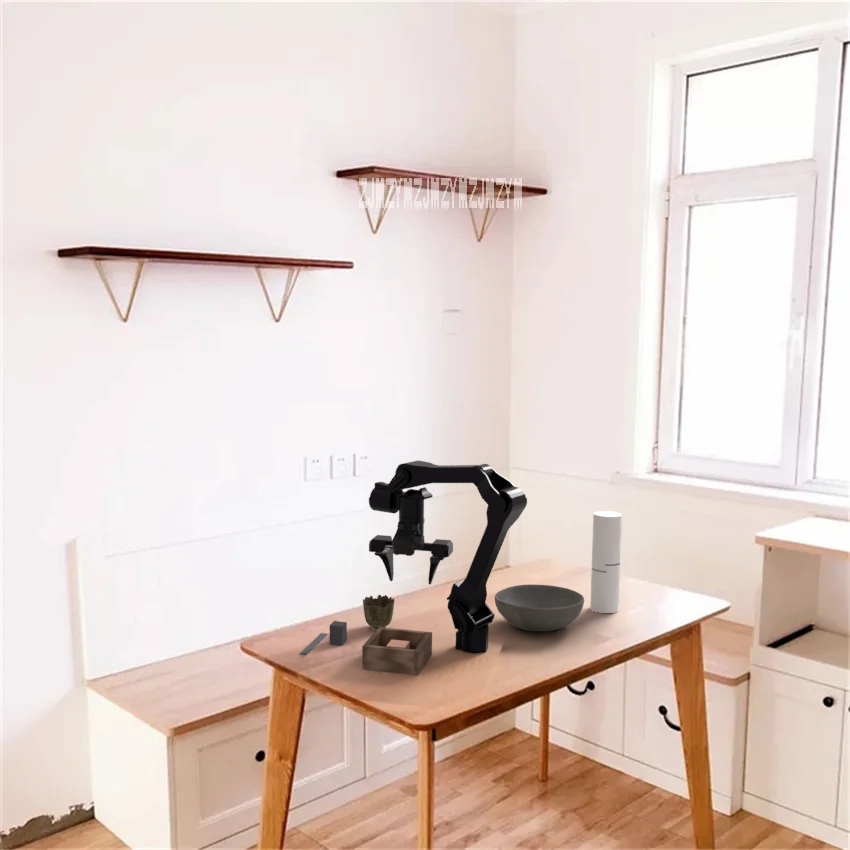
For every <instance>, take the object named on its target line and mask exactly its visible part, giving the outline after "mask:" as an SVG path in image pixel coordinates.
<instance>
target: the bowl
mask: <svg viewBox="0 0 850 850" xmlns="http://www.w3.org/2000/svg"><path fill="white" fill-rule="evenodd" d="M494 603H495V606H496V609H497V611H498V613H499V614H500V615H501V616H502V617H503V619H504V620H505V621H507V622H508V623H509V624H510V625H512V626H514V627H516V628H518V629H521V630H525V631H529V632H531V631H532V632H550V631H556V630H560V629H562V628H564V627H565V628H566V627H567V626H569V625H571V624H572V623H573V622H574V621H575V620H576V619H577V618H578V617H579V615H580V614H581V612H582V610H583V607H584V603H585V598H584V596H583V595H582V593H579V592H577V591H575V590H574V589H569V588H566V587H562V586H555V585H547V584H519V585H513V586H510V587H507V588H503V589H501V590H499V591H497V593H496V594H495V595H494Z"/></svg>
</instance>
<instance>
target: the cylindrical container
mask: <svg viewBox="0 0 850 850" xmlns="http://www.w3.org/2000/svg"><path fill="white" fill-rule="evenodd" d="M592 514H593V516H592V519H593V521H592V543H591V544H592V545H591V546H592V549H591V550H592V551H591V572H590V573H591V574H590V576H591V577H590V578H591V579H590V605H589V609H590V610H591V611H592V610H593V611H592V612H594V611H595V612H594V613H597V612H599V613H598V614H601V613H613V614H617V613H618V612H619V611H618V610H619V605H620V584H621V583H620V582H621V581H620V580H621V559H622V558H621V557H622V555H621V554H622V553H621V552H622V530H623V529H622V527H623V514H622V513H621V512H617V511H609V510H600V511H599V510H598V511H595V512H593V513H592ZM616 612H617V613H616Z"/></svg>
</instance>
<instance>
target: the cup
mask: <svg viewBox="0 0 850 850" xmlns="http://www.w3.org/2000/svg"><path fill="white" fill-rule="evenodd" d="M362 605H363V614H364V619H365V622H366V624H367V625H368V626H370V630H372V631H374V632H375V631H376V630H377V629H378V628H379V627H383V628H387V626H389V625H390V624H391V622H392V620H393V615H394V607H395V598H393V597H392V596H391V597H389V596H388V595H387V594H385V595H381V594H378V595H377V598H376V597H375V598H374V597H373V595H370V596H369V597H368V596H365V598H364V599H362Z"/></svg>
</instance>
